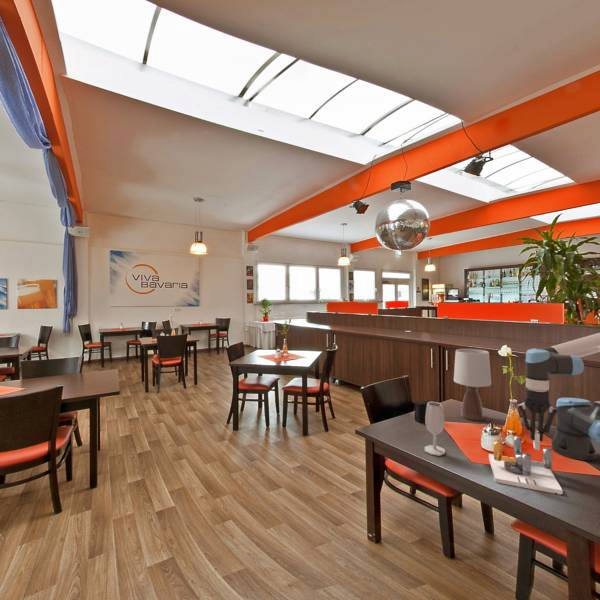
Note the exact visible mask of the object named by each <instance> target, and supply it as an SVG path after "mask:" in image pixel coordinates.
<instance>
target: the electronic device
mask: <svg viewBox="0 0 600 600" xmlns="http://www.w3.org/2000/svg"><path fill="white" fill-rule="evenodd" d="M428 402H432V400H421V401H416V402H414V421H416V422H418V423H419V424H421V423H425V413H426V407H427V404H428Z"/></svg>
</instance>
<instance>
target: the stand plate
mask: <svg viewBox="0 0 600 600" xmlns="http://www.w3.org/2000/svg"><path fill="white" fill-rule="evenodd" d="M504 457H506V456H505V455H504ZM510 458H513V457H511V456H510ZM488 460H489V463H490V468H491V471H492V475H493V480H494V483H496V484H504V485H508V486H512V487H519V488H525V489H530V490H534V491H541V492H544V493H545V492H546V493H551V494H555V493H557V494H556V495H561V494H564V493H563V492H564V490H563V488H562V487H561V485H560V483H559V481H558V480H557V479H556V477H555V475H554V474H553V472H552V469H546V468H543V467H537V466H531V476H527V475H524V474H517V473H513V472H511V471H509V470H507V469H506V468H505V467H504V462H505V461H497V460H495V459H494V453H493V454H492V453H488ZM534 461H535V462H538V461H536V460H534ZM540 462H541V461H540ZM541 463H543V461H542V462H541Z"/></svg>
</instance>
